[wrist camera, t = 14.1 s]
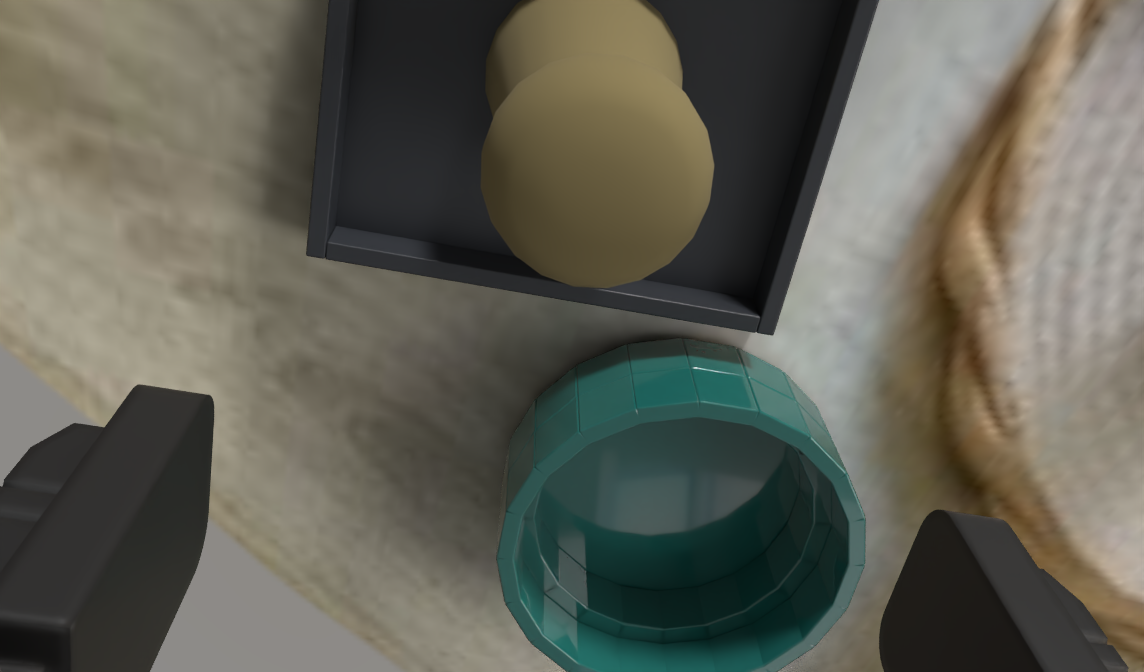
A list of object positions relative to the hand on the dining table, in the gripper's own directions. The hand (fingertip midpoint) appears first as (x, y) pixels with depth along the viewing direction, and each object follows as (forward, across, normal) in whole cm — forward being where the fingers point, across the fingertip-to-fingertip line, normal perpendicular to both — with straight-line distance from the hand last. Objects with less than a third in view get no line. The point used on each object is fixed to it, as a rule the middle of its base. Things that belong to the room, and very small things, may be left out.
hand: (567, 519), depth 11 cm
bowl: (+23, -7, +14) cm, 28 cm away
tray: (+23, -1, 0) cm, 23 cm away
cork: (+22, -1, 0) cm, 22 cm away
